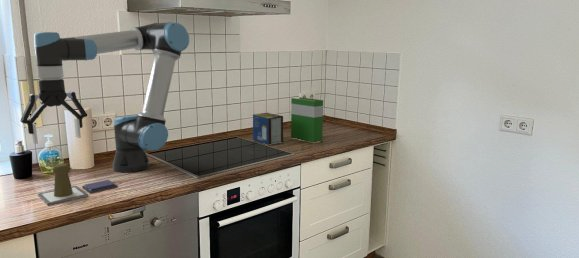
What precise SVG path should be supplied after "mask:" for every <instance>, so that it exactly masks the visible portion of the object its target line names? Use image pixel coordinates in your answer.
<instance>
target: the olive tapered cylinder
mask: <svg viewBox="0 0 579 258" xmlns="http://www.w3.org/2000/svg"><path fill="white" fill-rule="evenodd" d="M52 172H53V174H54V187H53V190H54V196H55V197H65V196H69V195H71V194H73V191H72V183H71V180H70V175H69V172H70V166H69V165H68V164H66V163H57V164H54V165H53V167H52Z"/></svg>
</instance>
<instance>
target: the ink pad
mask: <svg viewBox="0 0 579 258" xmlns="http://www.w3.org/2000/svg"><path fill="white" fill-rule="evenodd" d="M81 187H82V190H84V191H85V192H87V193H88V194H93V193H97V192H102V191H105V190H111V189H115V188H118V184H116V183H114V182H113V181H111V180H110V179H106V180H101V181H96V182H90V183H86V184H84V185H82V186H81Z"/></svg>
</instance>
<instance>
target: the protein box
mask: <svg viewBox="0 0 579 258" xmlns="http://www.w3.org/2000/svg"><path fill="white" fill-rule="evenodd" d="M253 140H255V141H258V142H257V143H259V142H261V143H260V144H262V143H265V144H268V145H269V144H274V143H279V142H283V143H284V115H279V114H274V113H270V112H262V113H253V114H252V141H253ZM255 141H254V142H255ZM265 144H264V145H265ZM268 145H267V146H268ZM269 146H270V145H269Z"/></svg>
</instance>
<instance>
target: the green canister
mask: <svg viewBox="0 0 579 258" xmlns="http://www.w3.org/2000/svg"><path fill="white" fill-rule="evenodd" d="M290 101H291V102H290V103H291V110H290V111H291V113H290V116H291V118H290V121H291V122H290V130H291V131H290V138H291V137H292V138H297V139H301V140H305V141H310V142H317V141H321V140H322V141H323V127H324V125H323V124H324V122H323V121H324V100H323V99H316V98H309V97H308V98H307V97H302V96H299V98H294V97H293V98H292V97H291V100H290Z"/></svg>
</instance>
